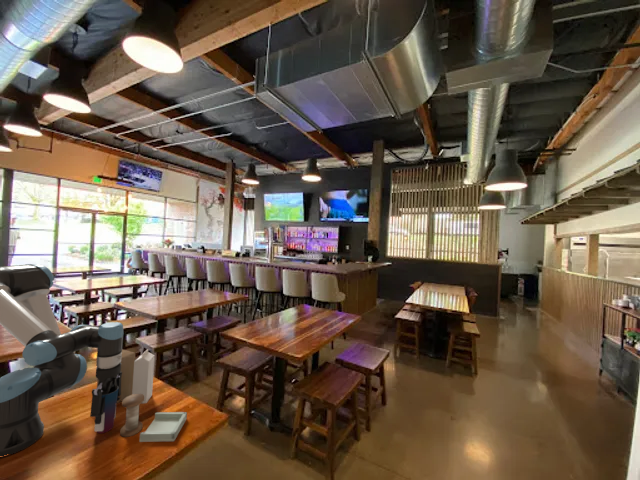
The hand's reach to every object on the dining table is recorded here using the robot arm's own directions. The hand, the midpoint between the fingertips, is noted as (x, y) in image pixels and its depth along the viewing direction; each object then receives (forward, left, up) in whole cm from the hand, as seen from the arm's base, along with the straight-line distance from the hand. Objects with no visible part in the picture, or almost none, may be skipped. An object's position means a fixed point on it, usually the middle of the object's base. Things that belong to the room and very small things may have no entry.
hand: (105, 424), depth 101 cm
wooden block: (-8, +19, -2) cm, 21 cm away
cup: (0, 0, -2) cm, 2 cm away
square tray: (+22, -1, -2) cm, 22 cm away
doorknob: (+10, -1, -2) cm, 10 cm away
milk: (+4, +18, -2) cm, 19 cm away
